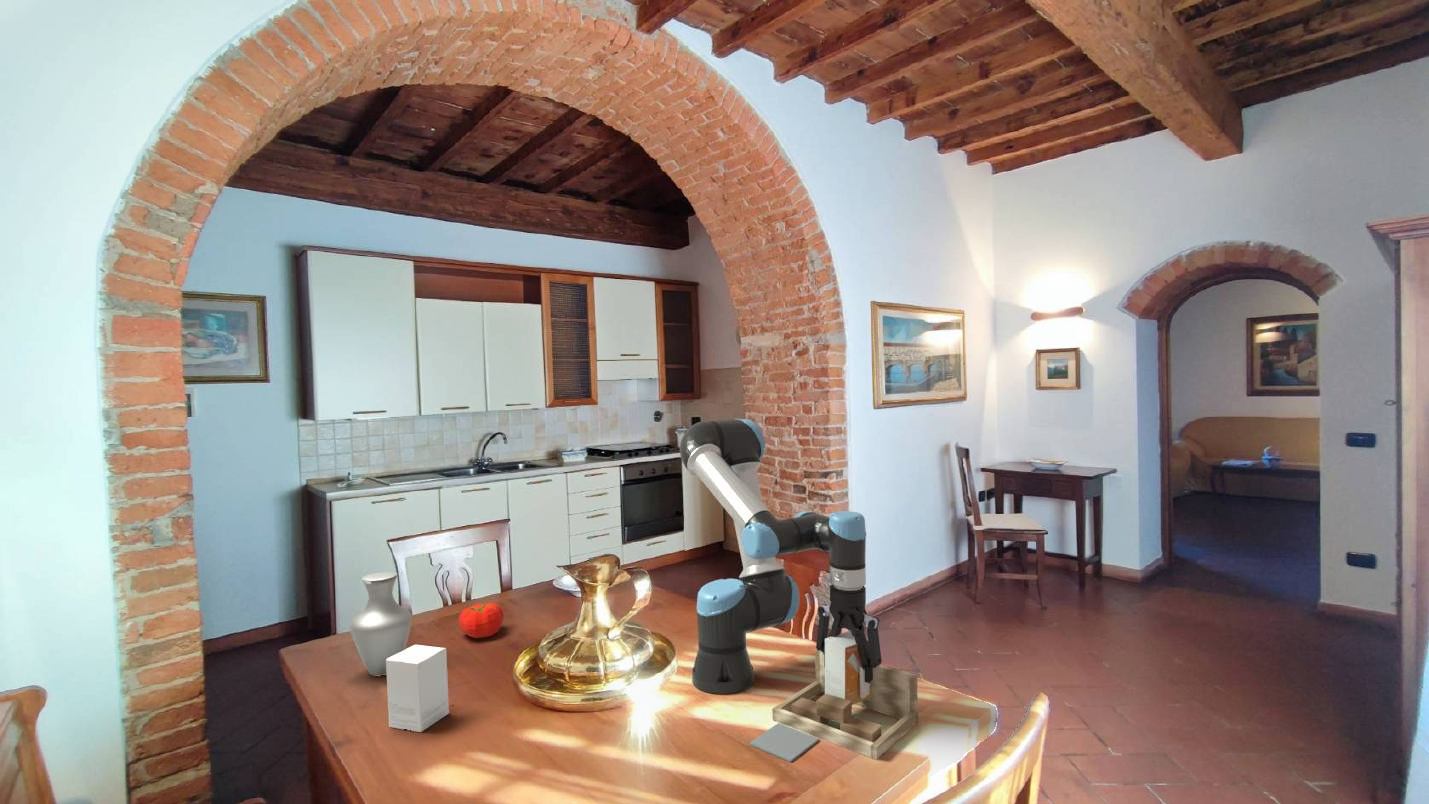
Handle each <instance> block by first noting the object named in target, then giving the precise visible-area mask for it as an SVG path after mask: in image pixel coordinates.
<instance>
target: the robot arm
mask: <svg viewBox="0 0 1429 804" xmlns="http://www.w3.org/2000/svg"><path fill="white" fill-rule="evenodd" d="M765 448H766V441H765V436H764V434H763V432H762V430H761V428H760V426H759V425H758V424H757V423H756V422H754V421H753V420H752V419H743V418H742V419H741V418H733V419H721V420H720V419H719V420H704V421H703V420H702V421H698V422H696V423H694V424H692V425H691V426H690V427H689V428H688V429H687V430H686V431H685V432H684V434H683V435H682V438H681V439H680V443H679V455H680V459H681V461H682V464H683V465H684V467H685V469H686V470H687V471H688V472H689V473H690V474H691V476H693V477H697V478H699V479H700V481H701V482H702V483H703V484H704V485H705V487H706V488H707V489H708V490H709V491H710V493H711V494H712V495H713V496H714V497H715V499H716V500H717V501H718V503H719V504H720V505H721V506H722V508H723V509H724V510H725V511H726V512H727V513H728V515H729V516H730V517H731V518H732V519H733V525H734V528H735V533H736V539H737V543H738V548H739V552H740V558H741V562H742V567H743V568H742V571H741V573H740V574H739V576H738V578H739V579H737V578H726V579H724V578H720V579H716V580H713V581H710V582H708V583H705V585H703V586H702V587H700V589H699V591H698V592H697V601H696V613H697V637H698V638H697V640H698V643H697V644H698V648H697V649H698V650H697V653H696V656H695V660H694V664H693V667H692V671H691V679H692V680H691V682H692V684H693V686H694V687H695V688H697V689H698V690H699V691H702V692H706V693H709V694H718V695H719V694H720V695H721V694H722V695H723V694H725V695H726V694H733V693H734V694H735V693H738V692H742V691H744V690H746V689H749V688H750V687H751V686H752V685H753V684H754V683H755V670H754V669H755V668H754V667H753V665H752V663H751V659H750V656H749V653H748V649H747V633H752V632H755V631H759V630H764V629H767V628H772V627H778V626H781V625H783V624H785V623H788V622H790V621H792V620H793V619H794V618H795V616H797V612H798V610H799V608H800V607H799V606H800V591H799V587H798V585H797V583H796V581H794V578H793V577H792V576H790V575H788V574H786V572H785V568H784V567H783V566H782V565H780V564H779V563H778V561H777V560H776V557H779V556H784V555H789V554H793V553H794V554H796V553H801V552H804V551H805V552H806V551H810V550H820V551H822V552H825V553H828V554H829V582H830V586H829V601H830V604H829V605H828V604H826V603H825V604H822V605H820V606H819V607H817V614H818V625H817V626H818V627H817V628H818V629H817V634H816V643H815V645H816V646H815V648H816V649H817V650H818V651H821V652H823V654H824V667H825V638H829V637H836V636H837V635H839V634H840V633H841V632H842V629H846V630H847V631H851V634H852V636H854V638H855V642H856V644H857V648H858V651H859V654H860V657H861V660H862V663H863V666H861V667H860V698H862V699H864V698H865V697H866V696H867V695H869V683H870V682H871V681H872V680H873V668H876V667H877V666H878V665H880V664H881V665H882V662H883V661H882V660H883V659H882V653H881V642H880V636H879V625H880V619H879V617H877V616H875V617H872V616H870V615H868V613H867V610H866V604H867V603H866V601H867V599H866V596H867V595H866V594H867V590H866V587H865V586H866V583H867V582H866V581H867V577H866V576H867V574H866V573H867V572H866V571H867V570H866V569H867V568H866V547H867V546H866V540H867V532H866V529H867V528H866V520H865V516H864V514H862V513H860V512H857V511H849V510H838V511H833V512H832V513H831V514H830V515H829V516H827V515H824V514H820V513H818V512H815V511H800V512H798V513H797V514H796V515H794V516H793V517H790V518H783V519H782V518H781V519H778V518H777V517H775V515H774V514H773V513H772V512H771V511H770V510H769V509H768V507H767V506H766V505H765V503H764V500H763V496H762V492H761V487H760V482H759V478H758V473H757V472H758V470H759V468H760V466H761V464H762V463H761V459H762V458H763V457H764V454H765V452H766V451H765ZM830 615H831V616H832V618H833V622H832V625H831V629H830V633H829V627H830V618H831V616H830ZM864 622H865V627H866V628H867V631H866V634H865V627H864ZM828 634H829V635H828ZM866 635H867V636H866ZM866 637H868V642H867V639H866ZM868 643H869V645H868Z"/></svg>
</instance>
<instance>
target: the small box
mask: <svg viewBox="0 0 1429 804" xmlns="http://www.w3.org/2000/svg"><path fill="white" fill-rule="evenodd" d="M828 637H829V636H828ZM828 637H827V638H825V693H826V694H829V695H833V696H836V697H839V698H843V699H846V700H850V701H852V706H854V705H857V704H856V703H858V702H861V701H864V700H866V699H869V698H871V682H870V683H869V695H867V696H866V697H865V698H864V699H862V698H860V667H861V666H863V663H862V660H861V657H860V654H859V651H858V648H857V644H856V642H855V638H854V636H852V634H851V631H850V630H847V631H845V632H842V633H840V634H839V635H837V636H836V637H829V638H828ZM866 639H867V642H868V636H866ZM868 645H869V643H868Z"/></svg>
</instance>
